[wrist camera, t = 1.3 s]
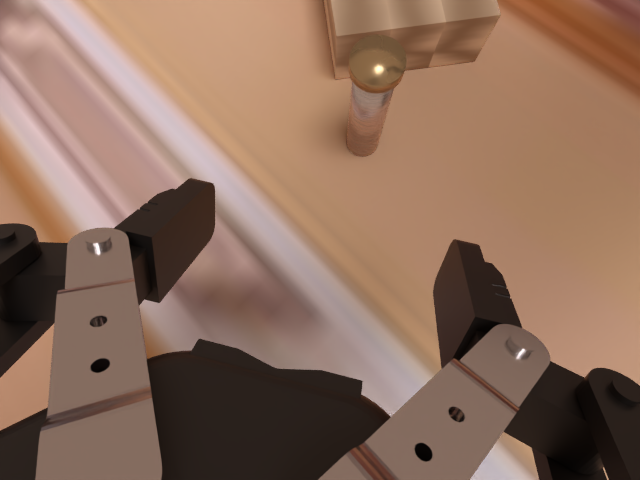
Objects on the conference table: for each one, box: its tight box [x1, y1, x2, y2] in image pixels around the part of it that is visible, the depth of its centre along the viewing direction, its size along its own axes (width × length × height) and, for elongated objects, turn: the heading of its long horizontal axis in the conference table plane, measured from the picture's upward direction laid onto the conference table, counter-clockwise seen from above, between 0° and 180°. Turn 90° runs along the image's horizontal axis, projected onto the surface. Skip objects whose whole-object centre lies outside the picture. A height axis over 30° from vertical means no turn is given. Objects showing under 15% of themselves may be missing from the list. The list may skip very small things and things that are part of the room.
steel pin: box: [346, 35, 407, 157], centre depth 26 cm, size 3×3×10 cm
